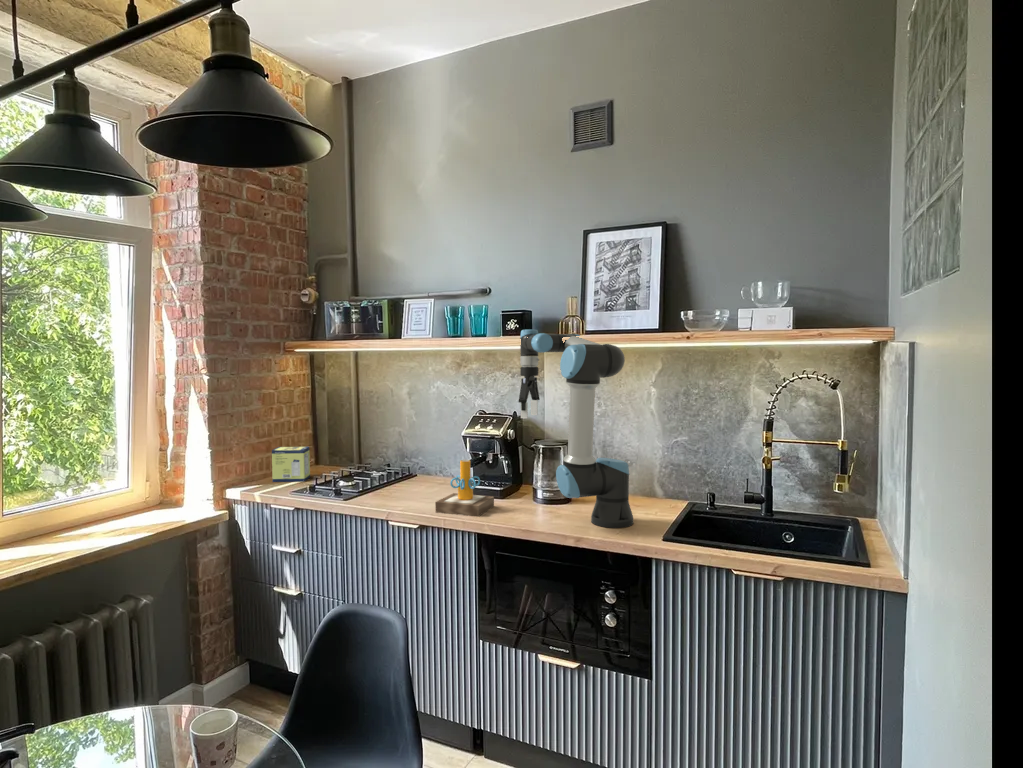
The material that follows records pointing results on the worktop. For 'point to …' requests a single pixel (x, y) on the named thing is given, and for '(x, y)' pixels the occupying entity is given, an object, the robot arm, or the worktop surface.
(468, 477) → the cylinder
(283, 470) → the protein box
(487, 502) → the pedestal
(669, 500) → the worktop surface
